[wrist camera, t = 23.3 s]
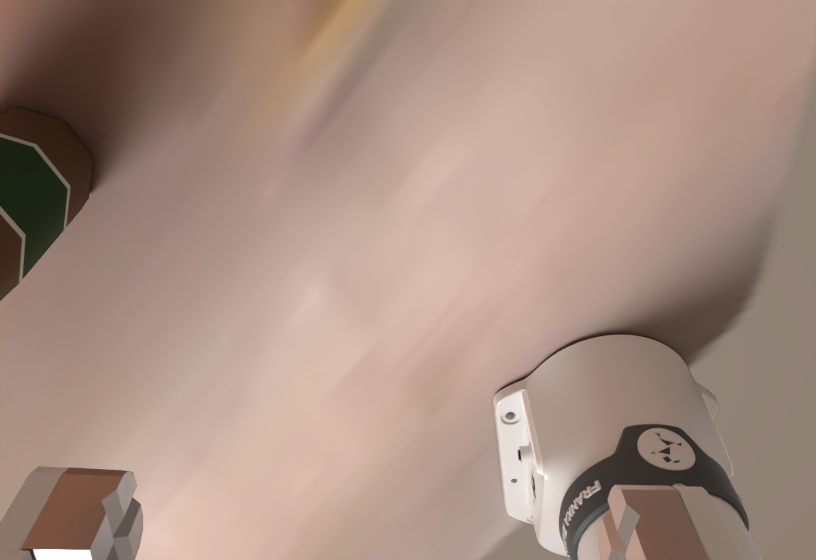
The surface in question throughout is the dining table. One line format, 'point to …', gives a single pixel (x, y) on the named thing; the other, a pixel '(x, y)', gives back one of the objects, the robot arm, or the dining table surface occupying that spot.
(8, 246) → the beer bottle
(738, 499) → the robot arm
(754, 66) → the dining table surface
